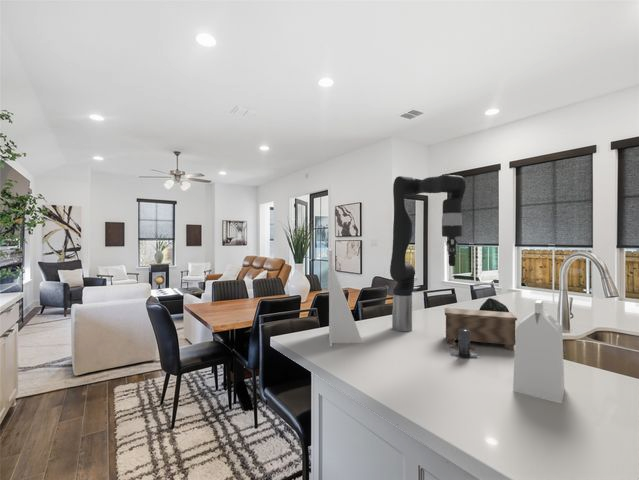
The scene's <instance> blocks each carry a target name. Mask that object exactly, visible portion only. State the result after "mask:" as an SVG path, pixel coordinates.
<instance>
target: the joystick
mask: <svg viewBox="0 0 639 480" xmlns="http://www.w3.org/2000/svg"><path fill="white" fill-rule="evenodd" d="M450 351H451V352H450V353H451V355H450V356H455V357H456V356H457V357H459V358H461V359H470V358H471V359H473V358H474V359H478V353H477V349H476V347H475V346H471V341H470V330H468V329H459V340H458V345H455V344H451V345H450Z"/></svg>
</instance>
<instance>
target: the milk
mask: <svg viewBox="0 0 639 480" xmlns="http://www.w3.org/2000/svg"><path fill="white" fill-rule="evenodd" d="M563 341H564V339H563V326H562V325H561V324H560V322H558V319H557V318H556V317H555V316H554V315H553V314H552V313H550V312H548V311H546V309H544V300H542V299H541V300H540V299H537V300H536V301H535V302H534V311H533V312H531V313H530V314H528V315H527V316H526V317H524V318H523V319H521V320H520V321H519V323H518V324H517V325H516V327H515V345H514V365H513V383H512V392H515V393H517V394H518V393H519V394H523V395H526V396H530V397H534V398H538V399H543V400H546V401H551V402H554V403H558V404H563V399H564V393H565V370H564V369H565V366H564V345H563V344H564V342H563Z"/></svg>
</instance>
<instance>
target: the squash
mask: <svg viewBox="0 0 639 480" xmlns="http://www.w3.org/2000/svg"><path fill="white" fill-rule="evenodd" d="M479 310H481V311H496V312H510V310H509V309H508V306H506V305H505V304H504V303H502V302H500V301H499V300H497V299H495V298H493V297H489V298H487V299H486V300H485V301H484V302H483V303H482V304H481V305H480V307H479Z"/></svg>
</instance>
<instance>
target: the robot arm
mask: <svg viewBox="0 0 639 480" xmlns="http://www.w3.org/2000/svg"><path fill="white" fill-rule="evenodd" d="M392 184H393V185H392V195H393V223H392V225H393V227H392V248H391V249H392V252H391V258H390V265H389V266H390V267H389V274H390V277H391V279H392V280H393V281H394V282H397V283H396V285H395V287H393V289H392V310H391V311H392V312H391V316H392V317H391V319H392V321H391V324H392V325H391V327H392V330H394V331H397V332H410V331H412V330H413V292H414V287H415V269H414V266H413V264H411V263H410V262H407V261H406V254H407V251H408V250H407V249H408V248H409V245H410V243H411V240H412V238H413V219H412V217H411V216H410V213H409V211H408V210H407V207H406V205H405V196H406V197H411V196H415V195H419V194H441V193H445V194H446V193H448V194H450V197H449V198H446V199H444V200H443V201H442V217H441V236H442V237H445V238H448V239H447V241H446V247H447V248H446V251H447V255H448V264H449V266H450V267H455V266H456V256H457V250H458V241H457V240H456V238H458V237H459V238H460V237H463V218H462V202H463V199H464V195H465V191H466V187H467V183H466V180H465V177H463V176H461V175H452V174H442V175H441V174H440V175H439V176H438V175H437V176H430V177H429V176H428V177H426V178H423V179H419V178H414V177H410V176H402V175H401V176H400V175H399V176H397V177H396V178H395V179H394V181H393V183H392Z"/></svg>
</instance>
